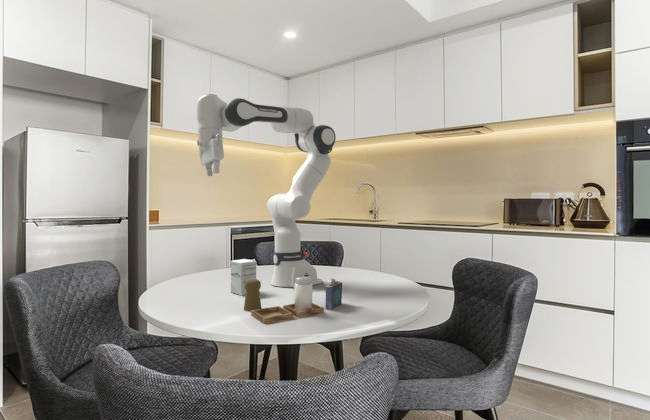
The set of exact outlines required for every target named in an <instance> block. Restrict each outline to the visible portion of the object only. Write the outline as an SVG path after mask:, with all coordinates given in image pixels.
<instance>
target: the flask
mask: <svg viewBox="0 0 650 420" xmlns="http://www.w3.org/2000/svg"><path fill="white" fill-rule="evenodd" d="M342 293H343V282H342V281H339V280H336V279H335V278H333V277H331V280H330V283H329V284H327V285H326V286H325V304H324V305H325V307H324V310H327V311H331V310H333V309H335V308H336V307H339V306H341V305H342V304H343V301H342V300H343V298H342V297H343V296H342V295H343V294H342Z"/></svg>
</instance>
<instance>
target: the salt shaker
mask: <svg viewBox="0 0 650 420" xmlns="http://www.w3.org/2000/svg"><path fill="white" fill-rule="evenodd" d="M312 303H313V285H312V282H311V277H305V276H303V277H296V282H295V288H294V304H295V310H296V311H298V312H300V311H305V310H311V309H312Z"/></svg>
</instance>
